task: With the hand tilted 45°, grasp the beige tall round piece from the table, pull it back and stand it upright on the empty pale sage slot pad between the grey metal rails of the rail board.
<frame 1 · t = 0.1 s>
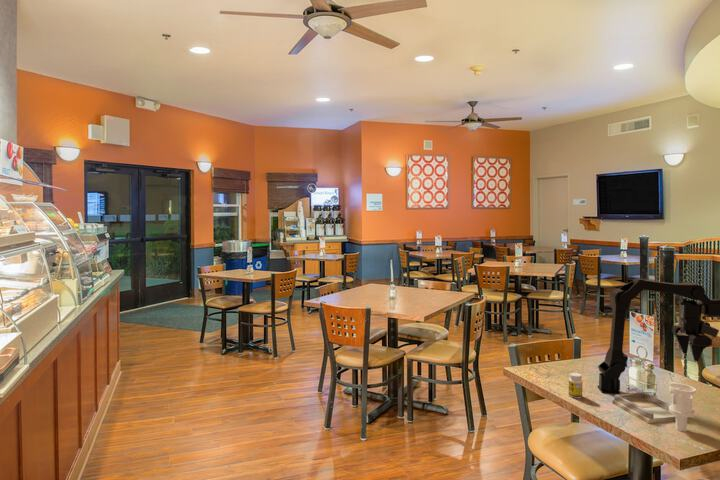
hand: (690, 357, 185), 15 cm above the table, tool pointing down, fingers open, 9 cm apart
supplement bottle: (575, 396, 187), on the table
beige tall round piece: (681, 429, 159), on the table
rail board: (646, 410, 173), on the table
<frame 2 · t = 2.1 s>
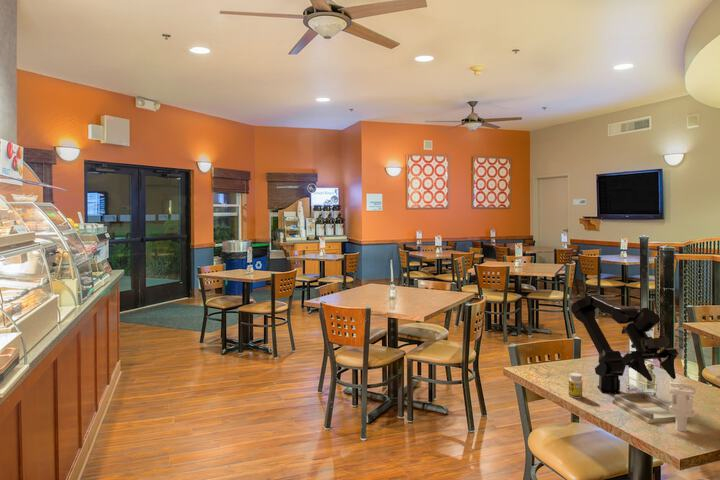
hand: (663, 379, 165), 13 cm above the table, tool tilted 45°, fingers open, 9 cm apart
nothing on the table moved.
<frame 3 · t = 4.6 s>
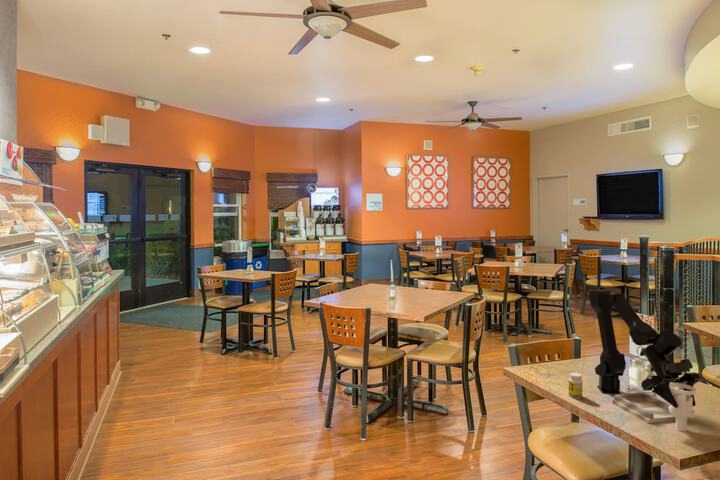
hand: (685, 406, 157), 8 cm above the table, tool tilted 45°, fingers closed on beige tall round piece, 6 cm apart
beige tall round piece: (681, 429, 159), on the table, touching gripper
everything else where it was.
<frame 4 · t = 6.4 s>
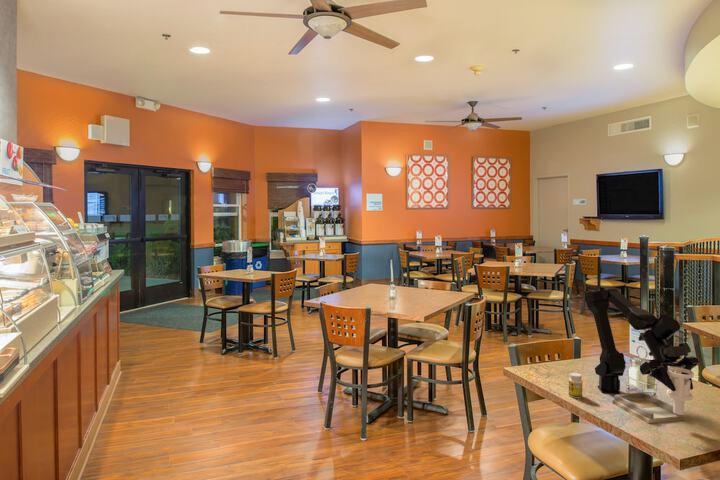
hand: (683, 390, 157), 13 cm above the table, tool tilted 45°, fingers closed on beige tall round piece, 6 cm apart
beige tall round piece: (678, 413, 159), point 5 cm above the table, touching gripper
everything else where it was.
when the fingers open (11 cm above the table, at t = 8.4 s): beige tall round piece drops 1 cm, resting on rail board.
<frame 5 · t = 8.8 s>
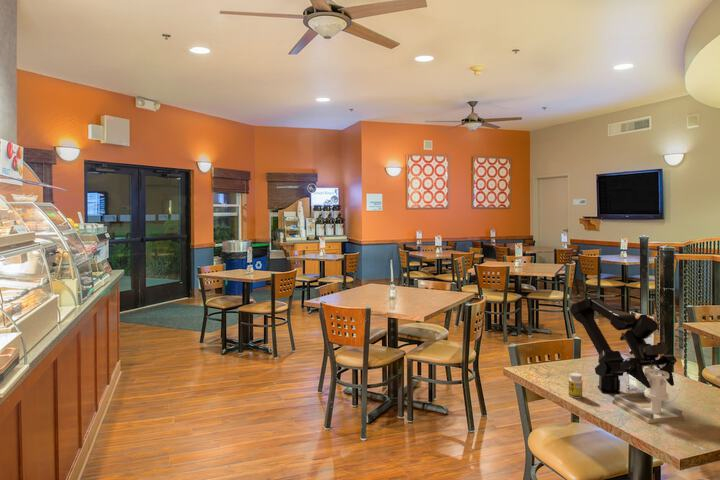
hand: (661, 386, 166), 11 cm above the table, tool tilted 45°, fingers open, 9 cm apart
beige tall round piece: (655, 412, 168), point 1 cm above the table, touching rail board
everything else where it was.
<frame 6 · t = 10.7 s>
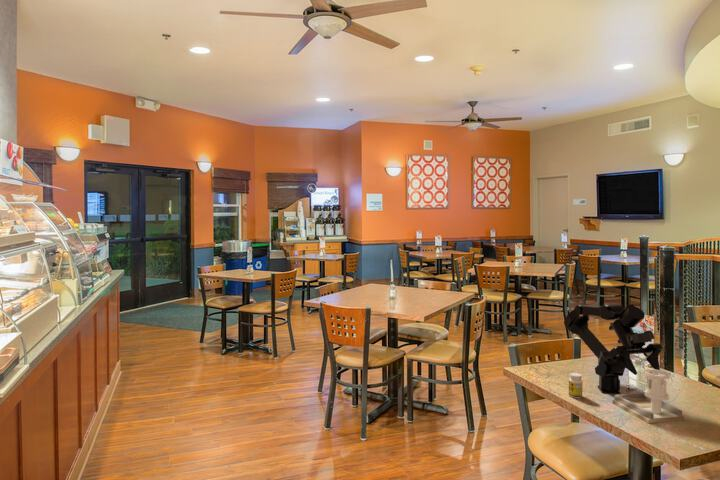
hand: (647, 373, 172), 13 cm above the table, tool tilted 45°, fingers open, 9 cm apart
nothing on the table moved.
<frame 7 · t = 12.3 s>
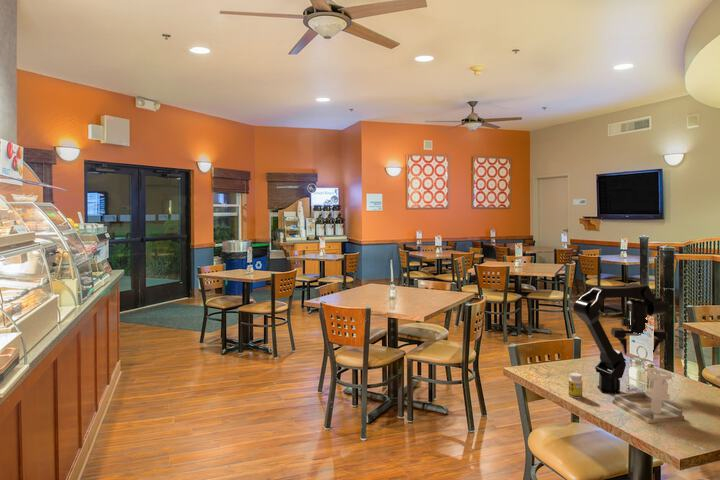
hand: (638, 354, 194), 13 cm above the table, tool pointing down, fingers open, 9 cm apart
nothing on the table moved.
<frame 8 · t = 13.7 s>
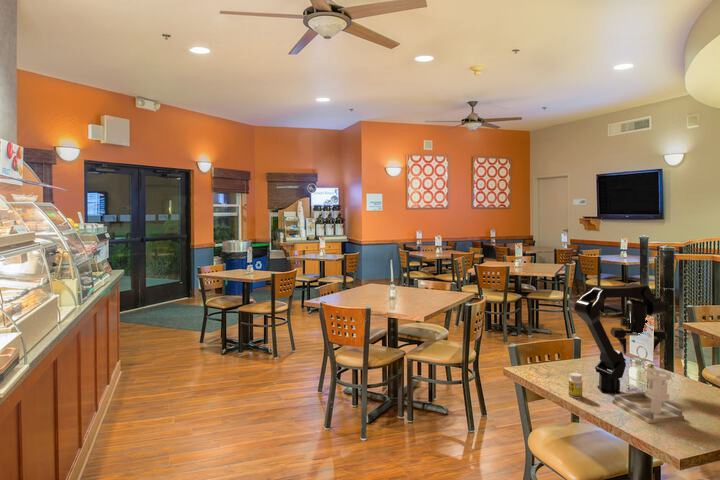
hand: (637, 354, 194), 13 cm above the table, tool pointing down, fingers open, 9 cm apart
nothing on the table moved.
at the end: beige tall round piece 0.1 cm from the target spot on the rail board, point 1.3 cm above the rail board's base; beige tall round piece tilted 2°; the gripper is holding nothing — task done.
